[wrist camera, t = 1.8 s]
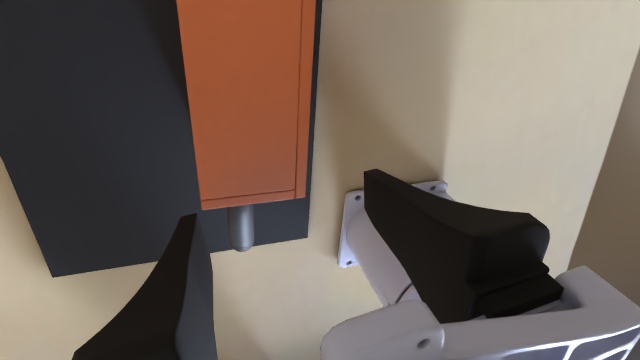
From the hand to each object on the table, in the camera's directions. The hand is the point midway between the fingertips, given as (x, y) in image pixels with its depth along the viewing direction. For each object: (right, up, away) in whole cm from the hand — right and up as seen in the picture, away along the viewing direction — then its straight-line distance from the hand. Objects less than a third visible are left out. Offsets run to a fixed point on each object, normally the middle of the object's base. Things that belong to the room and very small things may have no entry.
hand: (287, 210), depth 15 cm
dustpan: (-4, +7, +7) cm, 10 cm away
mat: (-8, +5, +7) cm, 11 cm away
